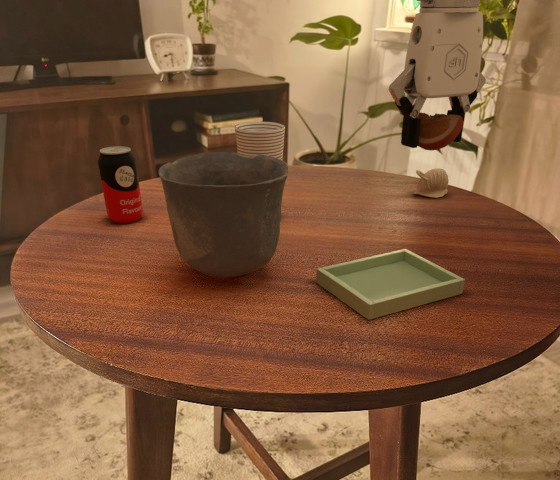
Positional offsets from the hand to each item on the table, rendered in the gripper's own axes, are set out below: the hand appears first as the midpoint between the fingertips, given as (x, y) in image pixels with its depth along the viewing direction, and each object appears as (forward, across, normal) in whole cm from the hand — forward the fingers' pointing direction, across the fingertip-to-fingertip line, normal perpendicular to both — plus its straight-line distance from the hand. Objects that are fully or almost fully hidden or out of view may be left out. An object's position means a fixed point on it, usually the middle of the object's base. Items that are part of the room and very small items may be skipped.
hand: (431, 142), depth 83 cm
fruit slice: (+1, 0, 0) cm, 1 cm away
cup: (+16, -17, +24) cm, 33 cm away
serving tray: (+16, -14, -11) cm, 24 cm away
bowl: (+16, -32, +3) cm, 35 cm away
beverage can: (+15, -39, +34) cm, 54 cm away
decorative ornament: (+16, +19, +20) cm, 32 cm away
